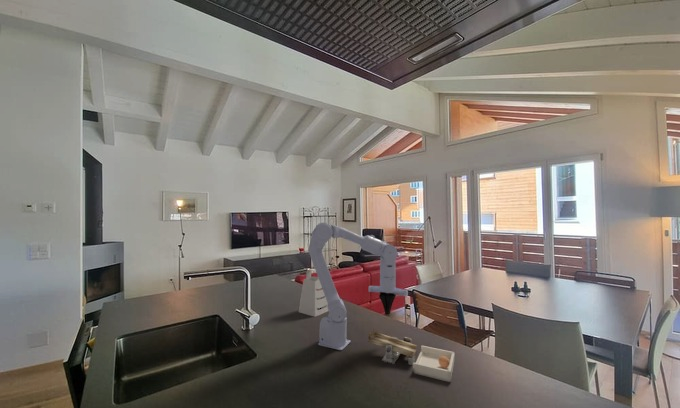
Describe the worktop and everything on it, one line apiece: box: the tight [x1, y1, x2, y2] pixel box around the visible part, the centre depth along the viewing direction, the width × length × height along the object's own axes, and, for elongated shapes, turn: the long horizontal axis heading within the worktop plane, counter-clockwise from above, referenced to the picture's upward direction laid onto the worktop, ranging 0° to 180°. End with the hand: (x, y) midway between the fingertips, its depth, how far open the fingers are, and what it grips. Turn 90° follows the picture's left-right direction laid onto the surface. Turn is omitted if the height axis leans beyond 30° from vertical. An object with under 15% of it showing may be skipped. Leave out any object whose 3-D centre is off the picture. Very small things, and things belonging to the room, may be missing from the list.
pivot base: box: [381, 336, 416, 366], centre depth 94 cm, size 9×8×5 cm
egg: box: [439, 356, 450, 368], centre depth 88 cm, size 3×3×3 cm
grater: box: [298, 268, 329, 318], centre depth 140 cm, size 10×10×20 cm
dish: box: [412, 345, 456, 383], centre depth 89 cm, size 10×13×3 cm
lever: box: [367, 328, 418, 357], centre depth 97 cm, size 15×11×3 cm
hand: (387, 313), depth 106 cm, fingers closed
